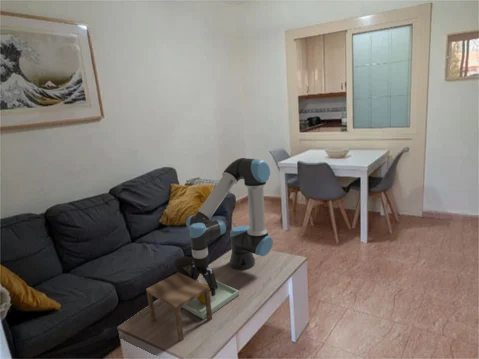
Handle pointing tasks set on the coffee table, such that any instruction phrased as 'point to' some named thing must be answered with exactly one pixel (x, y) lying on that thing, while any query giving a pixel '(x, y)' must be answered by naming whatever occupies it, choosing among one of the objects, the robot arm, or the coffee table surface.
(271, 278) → the coffee table surface
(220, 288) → the tray
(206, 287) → the riser
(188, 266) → the container
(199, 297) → the apple
